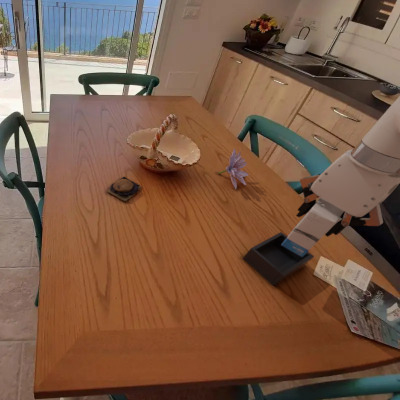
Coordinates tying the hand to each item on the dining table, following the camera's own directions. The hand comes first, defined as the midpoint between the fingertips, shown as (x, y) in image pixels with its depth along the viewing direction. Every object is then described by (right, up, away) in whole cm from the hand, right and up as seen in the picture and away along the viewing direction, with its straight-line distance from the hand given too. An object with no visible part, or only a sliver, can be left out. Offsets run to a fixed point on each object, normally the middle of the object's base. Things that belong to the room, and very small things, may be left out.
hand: (315, 223), depth 60 cm
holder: (-1, -12, +12) cm, 17 cm away
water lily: (+3, +12, +39) cm, 41 cm away
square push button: (-38, +9, +31) cm, 50 cm away
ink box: (0, -5, +5) cm, 7 cm away
